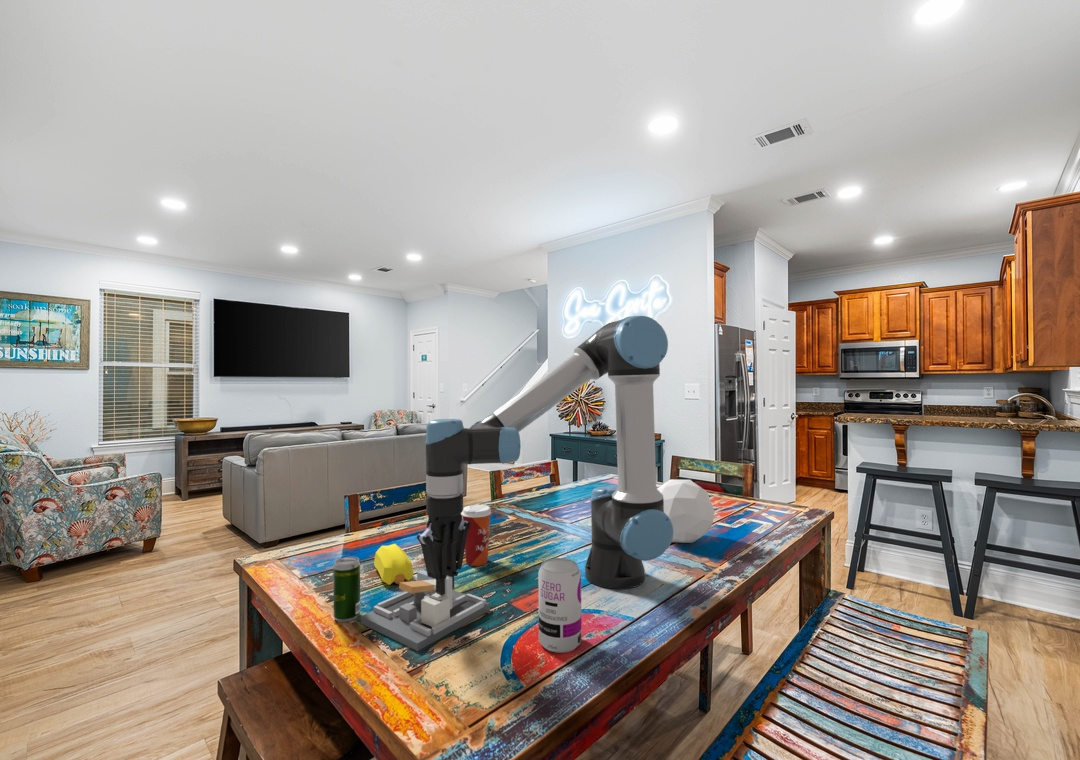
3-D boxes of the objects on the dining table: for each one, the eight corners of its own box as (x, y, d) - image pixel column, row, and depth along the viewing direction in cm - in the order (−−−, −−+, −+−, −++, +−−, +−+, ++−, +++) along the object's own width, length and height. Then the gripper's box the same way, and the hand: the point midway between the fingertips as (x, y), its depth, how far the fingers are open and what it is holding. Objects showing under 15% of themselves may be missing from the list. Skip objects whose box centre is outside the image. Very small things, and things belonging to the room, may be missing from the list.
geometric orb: (699, 563, 151) (739, 519, 144) (648, 548, 144) (687, 501, 137) (675, 518, 167) (710, 476, 160) (629, 503, 161) (663, 458, 153)
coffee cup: (486, 568, 130) (486, 512, 130) (457, 566, 132) (457, 511, 132) (495, 557, 139) (495, 504, 139) (468, 555, 140) (467, 503, 140)
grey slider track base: (490, 610, 107) (489, 582, 107) (417, 651, 91) (417, 619, 91) (434, 589, 118) (433, 564, 118) (360, 623, 102) (360, 594, 102)
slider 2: (449, 620, 99) (449, 596, 99) (434, 628, 96) (434, 604, 96) (436, 614, 101) (436, 591, 101) (421, 622, 98) (421, 598, 98)
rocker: (452, 591, 108) (454, 582, 108) (410, 597, 98) (412, 587, 99) (440, 587, 110) (442, 578, 110) (398, 592, 101) (399, 582, 101)
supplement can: (578, 631, 98) (578, 556, 98) (583, 654, 90) (583, 573, 90) (538, 632, 98) (537, 557, 98) (539, 655, 89) (539, 573, 89)
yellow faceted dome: (384, 591, 117) (416, 584, 121) (384, 563, 117) (416, 557, 121) (371, 566, 133) (400, 561, 137) (371, 541, 133) (400, 537, 137)
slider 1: (442, 589, 113) (442, 569, 113) (428, 596, 110) (428, 575, 110) (430, 585, 116) (430, 565, 115) (417, 591, 112) (417, 571, 112)
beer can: (363, 610, 107) (363, 555, 107) (356, 622, 102) (356, 565, 102) (338, 611, 107) (337, 556, 107) (330, 623, 102) (329, 566, 102)
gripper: (455, 486, 108) (455, 592, 108) (407, 497, 98) (408, 615, 98) (479, 490, 104) (480, 601, 104) (432, 503, 93) (433, 626, 93)
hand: (445, 607), depth 101 cm, fingers closed
